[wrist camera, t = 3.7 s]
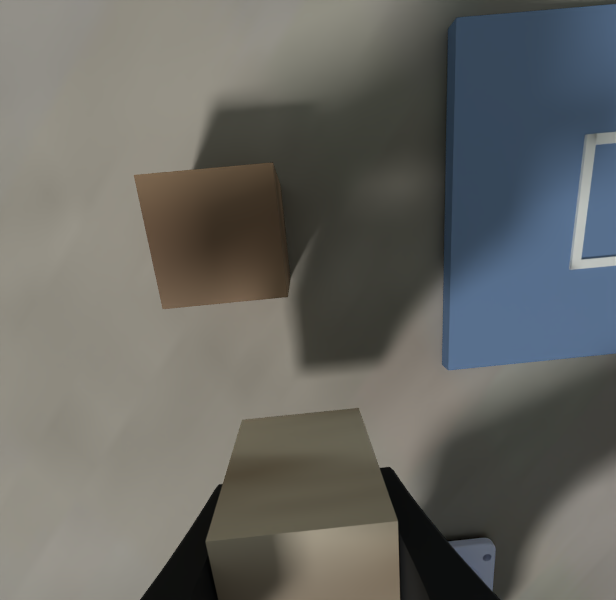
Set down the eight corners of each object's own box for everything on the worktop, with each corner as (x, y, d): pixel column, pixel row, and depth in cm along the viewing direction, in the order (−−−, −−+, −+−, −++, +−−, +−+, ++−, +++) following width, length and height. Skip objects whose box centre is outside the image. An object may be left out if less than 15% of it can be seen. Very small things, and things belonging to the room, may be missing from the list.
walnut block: (290, 278, 13) (287, 296, 9) (202, 286, 13) (162, 309, 9) (280, 184, 12) (272, 162, 8) (186, 193, 12) (133, 175, 8)
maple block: (364, 502, 11) (401, 654, 7) (257, 514, 11) (234, 673, 7) (358, 407, 10) (398, 521, 6) (242, 419, 10) (205, 541, 6)
